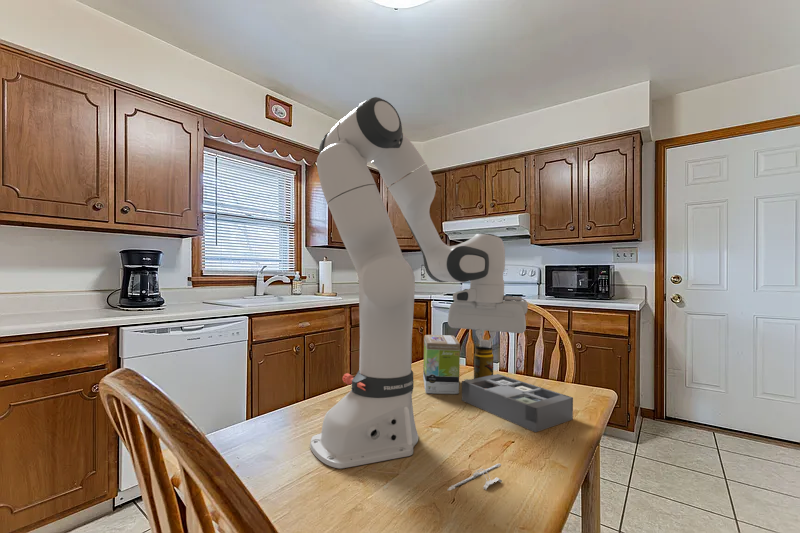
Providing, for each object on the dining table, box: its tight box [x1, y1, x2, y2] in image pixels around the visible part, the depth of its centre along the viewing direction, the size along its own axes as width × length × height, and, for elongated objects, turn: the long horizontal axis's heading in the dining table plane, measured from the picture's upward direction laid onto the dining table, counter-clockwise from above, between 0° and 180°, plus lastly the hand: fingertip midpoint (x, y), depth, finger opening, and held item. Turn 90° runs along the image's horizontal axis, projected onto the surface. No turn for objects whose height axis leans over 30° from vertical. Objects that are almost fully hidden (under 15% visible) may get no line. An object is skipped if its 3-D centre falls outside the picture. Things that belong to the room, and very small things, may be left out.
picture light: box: [447, 463, 503, 491], centre depth 67 cm, size 14×4×2 cm, turn 128°
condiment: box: [463, 343, 494, 381], centre depth 123 cm, size 7×8×12 cm
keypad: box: [461, 373, 574, 433], centre depth 101 cm, size 14×24×5 cm, turn 33°
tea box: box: [422, 334, 461, 395], centre depth 119 cm, size 15×10×15 cm
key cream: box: [515, 386, 534, 398], centre depth 103 cm, size 4×4×2 cm
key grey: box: [493, 380, 515, 388], centre depth 108 cm, size 4×4×2 cm
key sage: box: [516, 397, 537, 404], centre depth 93 cm, size 4×4×2 cm
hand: (485, 347), depth 104 cm, fingers closed
